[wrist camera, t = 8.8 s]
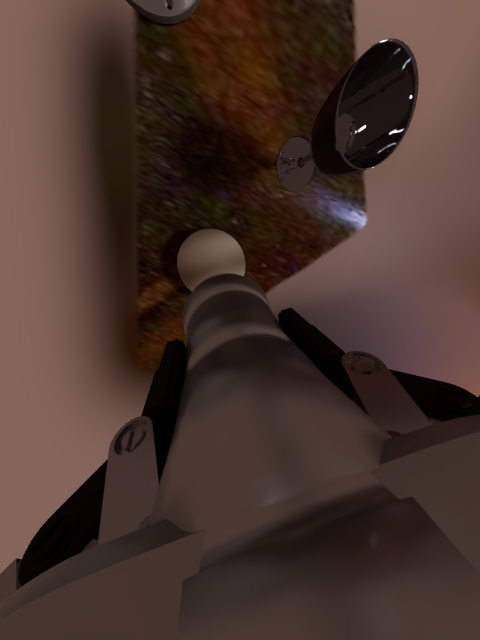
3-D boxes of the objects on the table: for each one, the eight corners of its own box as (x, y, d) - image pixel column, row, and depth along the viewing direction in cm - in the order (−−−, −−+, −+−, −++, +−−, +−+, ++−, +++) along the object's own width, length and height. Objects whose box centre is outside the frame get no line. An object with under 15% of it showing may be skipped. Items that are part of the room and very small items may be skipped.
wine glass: (305, 117, 26) (411, 3, 13) (325, 170, 29) (423, 125, 16) (264, 159, 27) (323, 95, 14) (289, 205, 31) (353, 188, 18)
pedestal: (168, 237, 29) (165, 238, 27) (235, 222, 30) (238, 221, 28) (191, 299, 35) (191, 305, 33) (246, 285, 36) (250, 289, 34)
